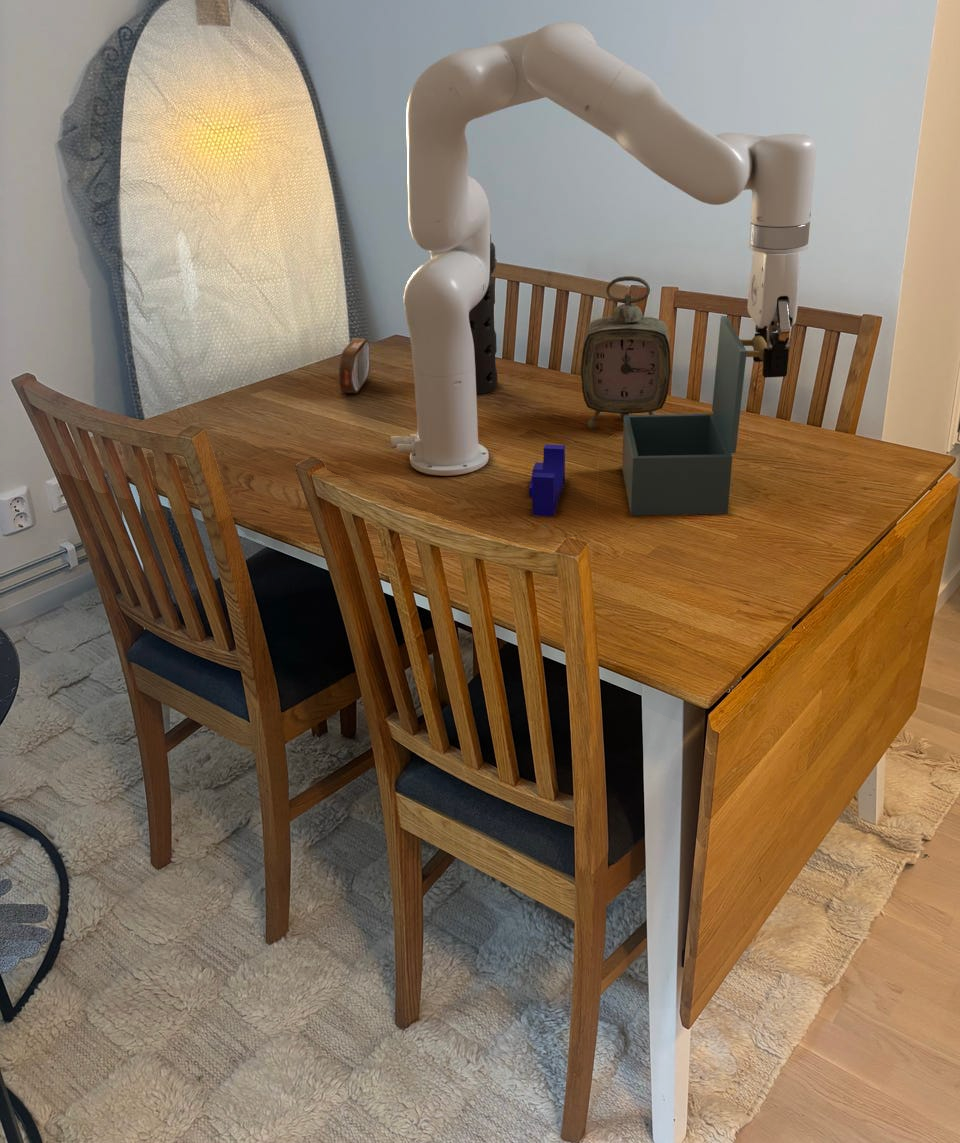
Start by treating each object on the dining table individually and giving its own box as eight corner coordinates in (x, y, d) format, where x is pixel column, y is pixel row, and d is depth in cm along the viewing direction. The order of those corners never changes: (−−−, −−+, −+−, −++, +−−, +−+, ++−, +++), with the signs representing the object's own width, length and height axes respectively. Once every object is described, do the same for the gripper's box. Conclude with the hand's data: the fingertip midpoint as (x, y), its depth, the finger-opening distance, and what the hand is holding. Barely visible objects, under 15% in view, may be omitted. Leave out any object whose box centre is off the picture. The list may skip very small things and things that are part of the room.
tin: (359, 373, 212) (355, 331, 208) (374, 373, 212) (370, 331, 208) (339, 400, 199) (334, 355, 195) (356, 400, 199) (351, 356, 195)
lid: (740, 351, 140) (782, 351, 140) (720, 315, 155) (758, 315, 155) (729, 453, 147) (769, 453, 147) (711, 410, 162) (748, 410, 162)
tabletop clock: (580, 432, 181) (581, 283, 169) (582, 413, 188) (584, 269, 176) (667, 433, 179) (675, 282, 167) (666, 414, 187) (673, 268, 174)
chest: (631, 515, 152) (633, 458, 148) (622, 468, 167) (623, 415, 163) (727, 514, 152) (732, 456, 147) (710, 467, 166) (714, 413, 162)
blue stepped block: (535, 480, 164) (535, 443, 161) (564, 482, 163) (565, 445, 161) (522, 514, 154) (521, 476, 151) (553, 516, 153) (553, 477, 150)
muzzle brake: (443, 396, 198) (499, 395, 198) (434, 241, 185) (494, 239, 185) (445, 380, 207) (499, 378, 206) (437, 230, 193) (494, 228, 193)
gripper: (738, 224, 149) (731, 351, 158) (763, 252, 134) (753, 390, 142) (793, 221, 148) (783, 348, 157) (824, 249, 133) (811, 387, 142)
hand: (769, 367), depth 150 cm, fingers closed on lid, 6 cm apart
